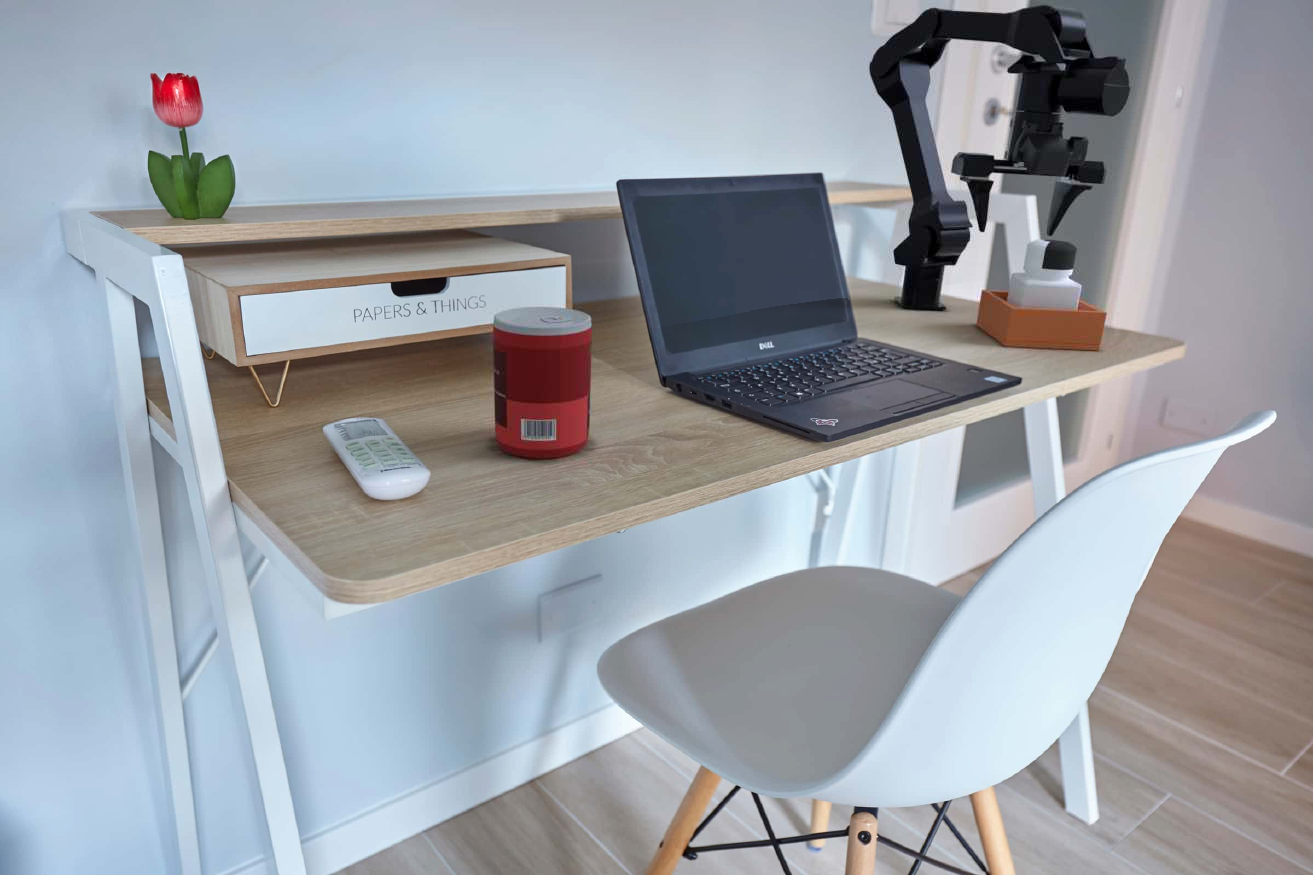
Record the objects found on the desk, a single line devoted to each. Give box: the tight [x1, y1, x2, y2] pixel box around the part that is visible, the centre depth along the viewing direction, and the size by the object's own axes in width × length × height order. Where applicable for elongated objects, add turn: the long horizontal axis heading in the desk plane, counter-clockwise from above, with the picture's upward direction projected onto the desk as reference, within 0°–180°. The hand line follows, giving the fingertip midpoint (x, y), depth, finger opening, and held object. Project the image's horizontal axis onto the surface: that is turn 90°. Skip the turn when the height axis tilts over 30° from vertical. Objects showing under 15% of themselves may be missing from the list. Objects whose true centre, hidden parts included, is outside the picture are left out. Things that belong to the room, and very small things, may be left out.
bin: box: [975, 289, 1108, 352], centre depth 124 cm, size 12×12×5 cm
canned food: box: [492, 306, 593, 460], centre depth 77 cm, size 8×8×11 cm
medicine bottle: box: [1007, 239, 1083, 310], centre depth 123 cm, size 7×7×12 cm
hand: (1015, 233), depth 126 cm, fingers open, 9 cm apart
